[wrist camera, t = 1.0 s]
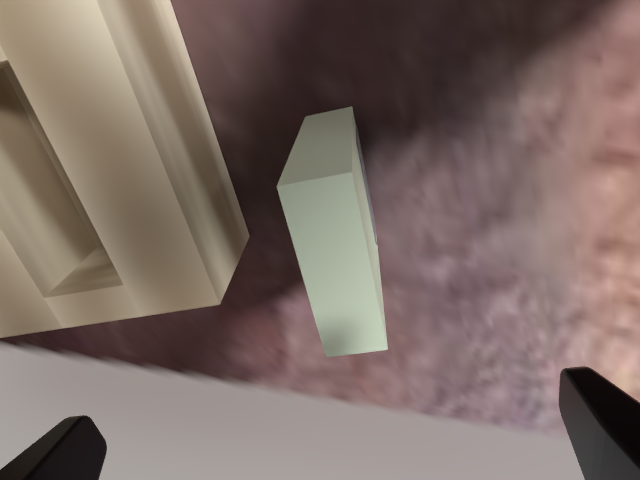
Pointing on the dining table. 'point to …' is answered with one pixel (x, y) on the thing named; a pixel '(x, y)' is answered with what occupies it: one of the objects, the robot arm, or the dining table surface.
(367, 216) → the green rectangular block
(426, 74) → the dining table surface
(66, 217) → the hollow square frame
